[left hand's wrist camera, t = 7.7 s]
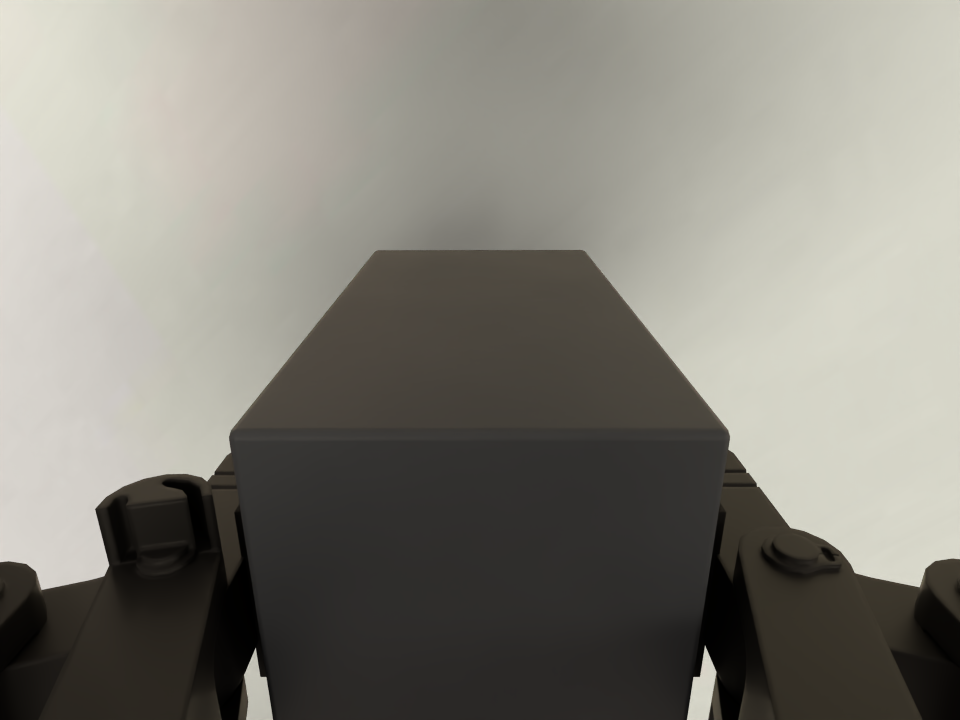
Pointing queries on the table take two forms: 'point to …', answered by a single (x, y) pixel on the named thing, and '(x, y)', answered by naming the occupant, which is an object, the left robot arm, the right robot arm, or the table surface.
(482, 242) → the table surface
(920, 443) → the table surface
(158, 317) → the table surface
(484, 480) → the bar
